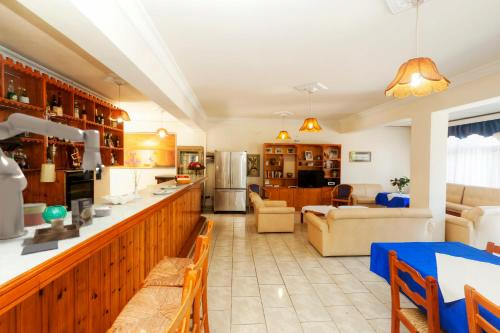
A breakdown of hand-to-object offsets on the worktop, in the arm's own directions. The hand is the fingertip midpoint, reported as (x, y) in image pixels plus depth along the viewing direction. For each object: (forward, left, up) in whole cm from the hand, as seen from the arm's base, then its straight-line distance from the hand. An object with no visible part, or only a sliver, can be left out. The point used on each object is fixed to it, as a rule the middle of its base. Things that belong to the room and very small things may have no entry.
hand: (92, 179), depth 148 cm
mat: (-23, -26, -28) cm, 45 cm away
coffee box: (-5, +6, -29) cm, 30 cm away
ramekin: (+9, +28, -29) cm, 41 cm away
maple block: (-17, -11, -25) cm, 33 cm away
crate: (-17, -11, -28) cm, 35 cm away
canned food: (-28, +28, -29) cm, 49 cm away
